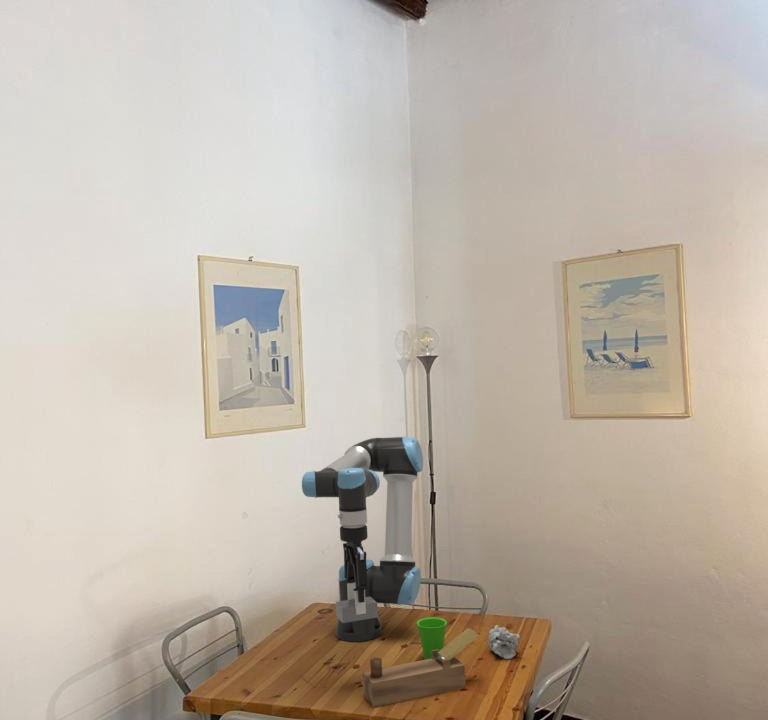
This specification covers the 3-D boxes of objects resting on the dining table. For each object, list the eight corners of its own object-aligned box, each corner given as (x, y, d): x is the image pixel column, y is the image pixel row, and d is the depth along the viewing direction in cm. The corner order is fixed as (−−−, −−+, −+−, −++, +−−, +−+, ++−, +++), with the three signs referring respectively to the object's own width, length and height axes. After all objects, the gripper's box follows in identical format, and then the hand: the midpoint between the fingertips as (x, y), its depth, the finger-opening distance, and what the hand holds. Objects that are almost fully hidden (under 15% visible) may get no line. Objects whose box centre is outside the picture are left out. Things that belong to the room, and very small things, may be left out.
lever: (433, 653, 195) (467, 626, 199) (435, 658, 195) (469, 630, 199) (442, 661, 189) (477, 633, 193) (444, 665, 190) (479, 637, 193)
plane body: (363, 694, 189) (362, 656, 189) (452, 676, 198) (450, 640, 198) (373, 707, 181) (371, 667, 182) (465, 687, 190) (463, 649, 191)
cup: (447, 666, 205) (445, 628, 205) (415, 665, 206) (414, 627, 207) (450, 654, 213) (448, 617, 214) (420, 653, 215) (418, 616, 216)
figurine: (505, 628, 206) (501, 607, 218) (484, 653, 208) (480, 631, 220) (528, 645, 207) (522, 623, 218) (506, 670, 208) (502, 647, 220)
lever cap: (336, 616, 196) (335, 599, 196) (370, 611, 200) (370, 594, 200) (342, 623, 191) (342, 605, 191) (377, 617, 194) (377, 600, 194)
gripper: (330, 520, 204) (334, 602, 203) (350, 533, 186) (354, 622, 185) (355, 518, 206) (359, 598, 206) (377, 529, 188) (381, 618, 188)
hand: (356, 609), depth 195 cm, fingers closed on lever cap, 6 cm apart
